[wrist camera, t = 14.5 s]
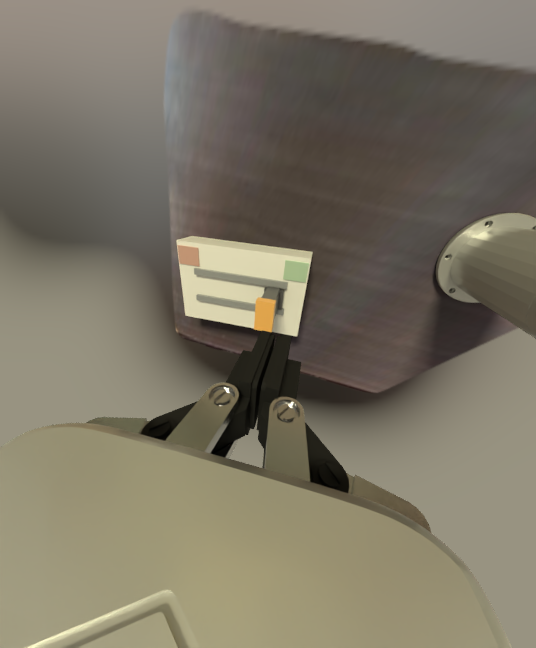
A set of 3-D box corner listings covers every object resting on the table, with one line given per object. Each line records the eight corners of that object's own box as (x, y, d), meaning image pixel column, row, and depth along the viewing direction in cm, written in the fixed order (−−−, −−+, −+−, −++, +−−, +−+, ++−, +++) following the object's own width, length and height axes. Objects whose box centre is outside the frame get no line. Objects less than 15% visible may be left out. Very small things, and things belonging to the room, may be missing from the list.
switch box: (312, 251, 37) (311, 259, 32) (299, 323, 44) (296, 338, 39) (191, 235, 40) (174, 240, 35) (198, 305, 47) (183, 316, 42)
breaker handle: (285, 285, 35) (276, 304, 29) (281, 310, 38) (273, 333, 31) (265, 282, 36) (253, 300, 29) (263, 307, 38) (252, 329, 32)
